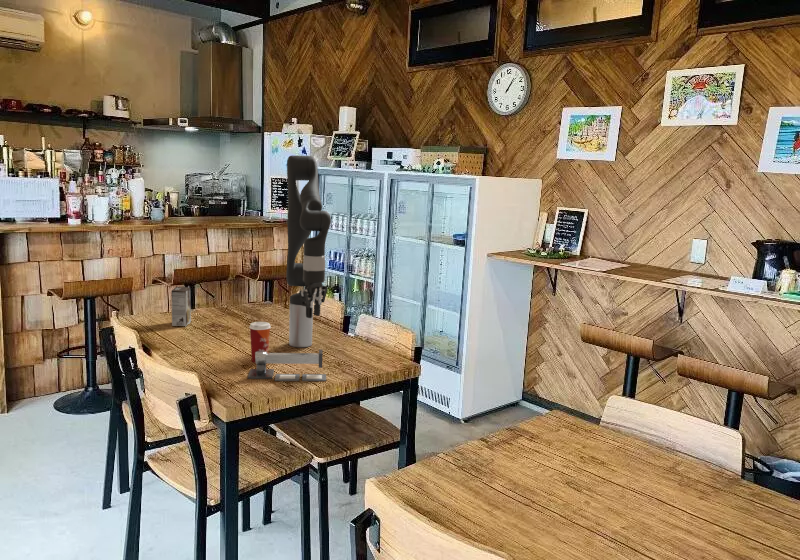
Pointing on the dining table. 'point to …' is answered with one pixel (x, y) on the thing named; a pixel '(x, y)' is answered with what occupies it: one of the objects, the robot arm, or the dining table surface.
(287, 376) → the label tile
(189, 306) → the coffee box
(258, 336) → the paper cup
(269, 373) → the pivot post
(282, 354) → the swing arm
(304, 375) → the label tile
